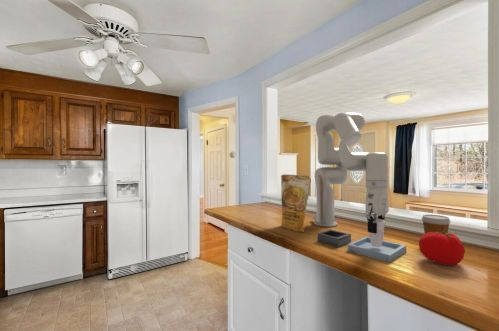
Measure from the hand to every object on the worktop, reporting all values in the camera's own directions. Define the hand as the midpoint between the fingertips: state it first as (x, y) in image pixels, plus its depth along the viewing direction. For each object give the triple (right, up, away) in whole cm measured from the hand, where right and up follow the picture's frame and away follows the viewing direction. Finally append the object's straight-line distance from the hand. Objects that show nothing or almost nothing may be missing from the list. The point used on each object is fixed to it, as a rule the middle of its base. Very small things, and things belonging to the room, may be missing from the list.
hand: (376, 230), depth 97 cm
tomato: (+17, -8, -11) cm, 22 cm away
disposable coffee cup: (+27, -8, +5) cm, 29 cm away
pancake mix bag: (-26, -8, +34) cm, 44 cm away
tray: (0, -8, 0) cm, 8 cm away
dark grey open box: (-12, -8, +12) cm, 19 cm away
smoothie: (0, -6, 0) cm, 6 cm away
